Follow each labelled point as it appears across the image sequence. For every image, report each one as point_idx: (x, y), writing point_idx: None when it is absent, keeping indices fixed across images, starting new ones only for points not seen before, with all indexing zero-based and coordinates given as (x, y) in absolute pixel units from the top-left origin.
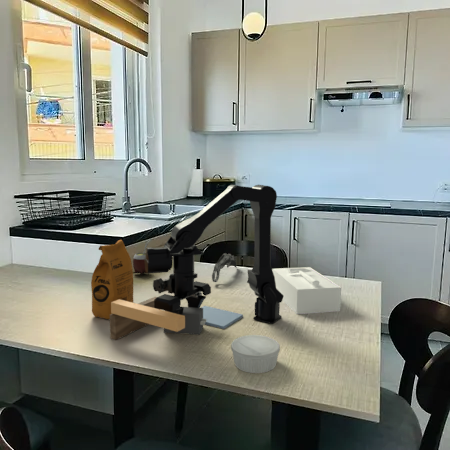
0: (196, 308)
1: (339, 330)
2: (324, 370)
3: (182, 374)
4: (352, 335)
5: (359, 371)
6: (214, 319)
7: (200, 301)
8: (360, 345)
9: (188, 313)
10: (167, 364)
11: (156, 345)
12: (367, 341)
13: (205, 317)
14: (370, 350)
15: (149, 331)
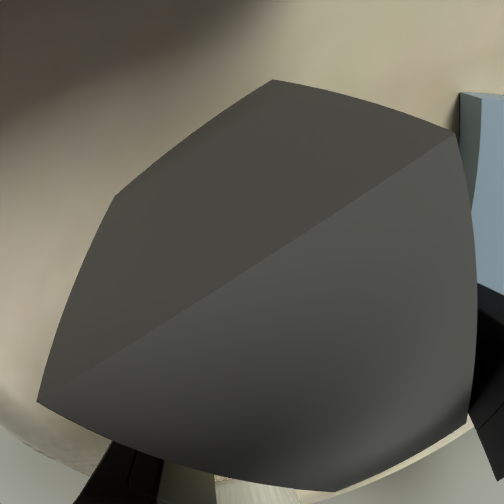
0: (448, 425)
1: (470, 419)
2: (309, 494)
3: (61, 462)
4: (453, 434)
5: (334, 493)
6: None
7: (492, 461)
8: (419, 456)
9: (300, 487)
10: (30, 431)
11: (4, 331)
12: (436, 448)
13: (502, 242)
14: (406, 465)
15: (24, 85)
